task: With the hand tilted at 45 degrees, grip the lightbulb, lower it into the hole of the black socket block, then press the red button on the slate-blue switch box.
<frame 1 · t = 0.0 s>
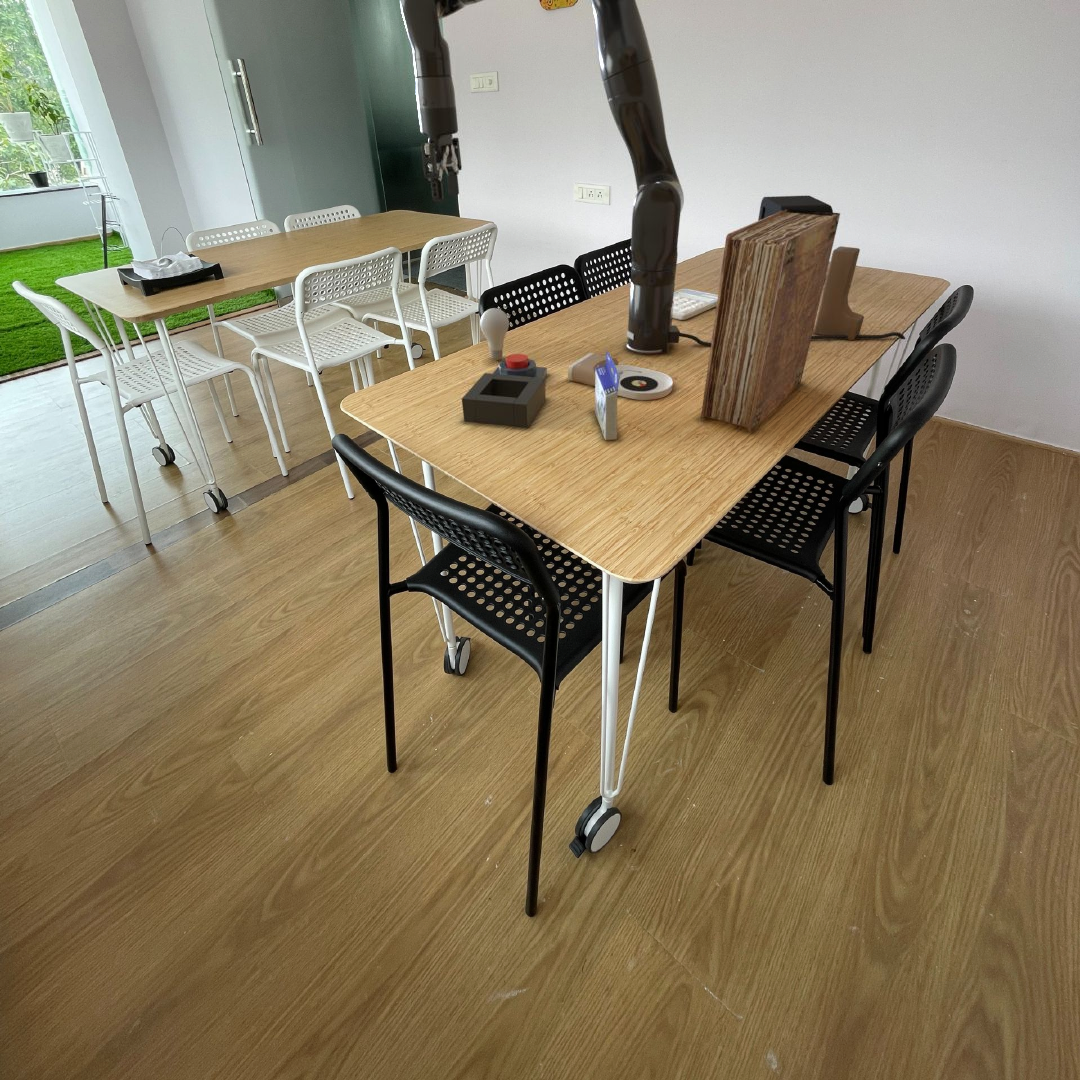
hand: (446, 198, 132), 29 cm above the table, tool pointing down, fingers open, 8 cm apart
book: (752, 402, 115), on the table
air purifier: (783, 277, 183), on the table
ink box: (604, 426, 109), on the table
calculator: (683, 307, 162), on the table
wooden block: (835, 335, 142), on the table
lightbulb: (497, 361, 135), on the table
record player: (622, 384, 123), on the table
switch: (518, 380, 126), on the table
button: (517, 361, 123), point 4 cm above the table, slide at 0.1 cm
socket: (506, 410, 115), on the table
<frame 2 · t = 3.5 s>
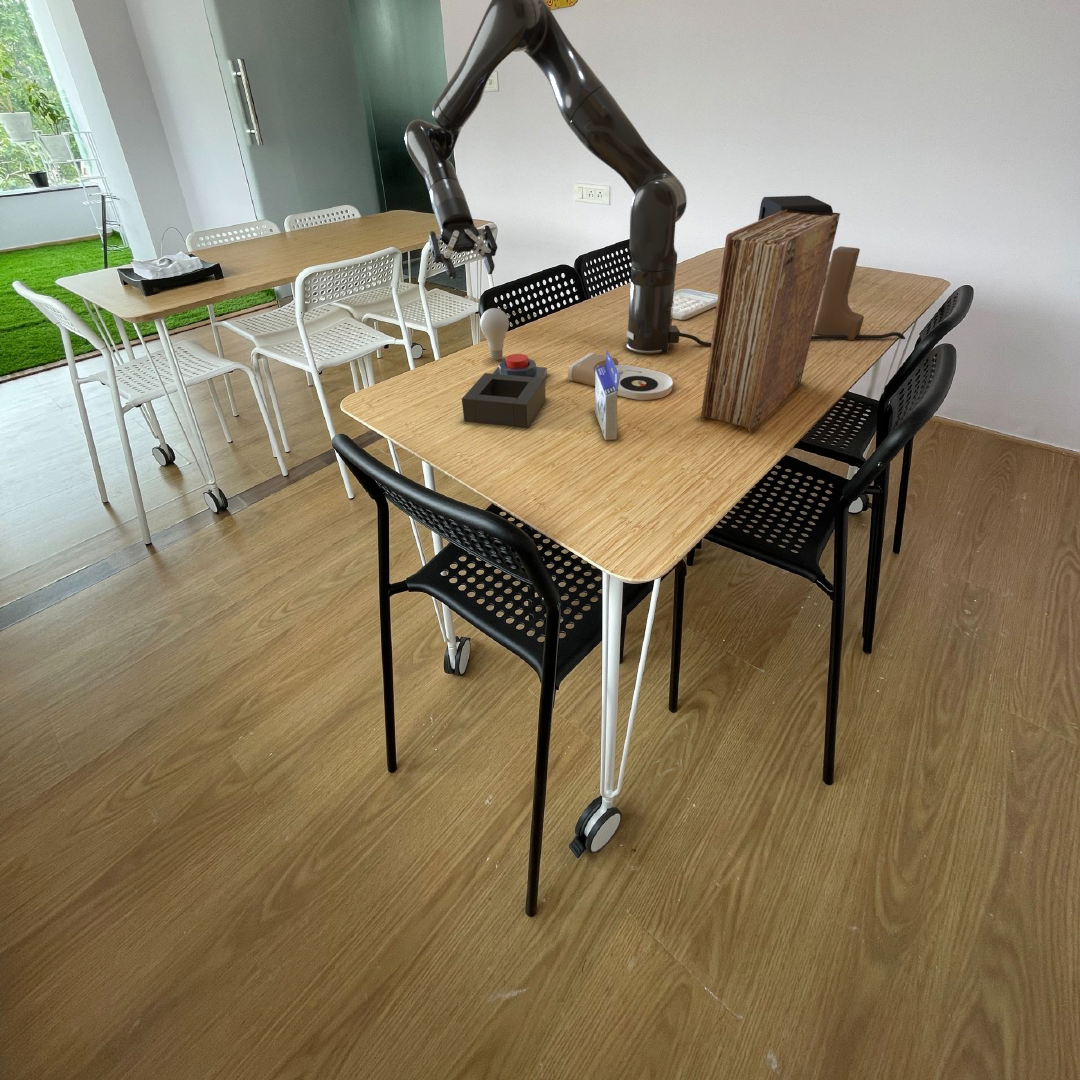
hand: (472, 274, 135), 15 cm above the table, tool tilted 45°, fingers open, 8 cm apart
nothing on the table moved.
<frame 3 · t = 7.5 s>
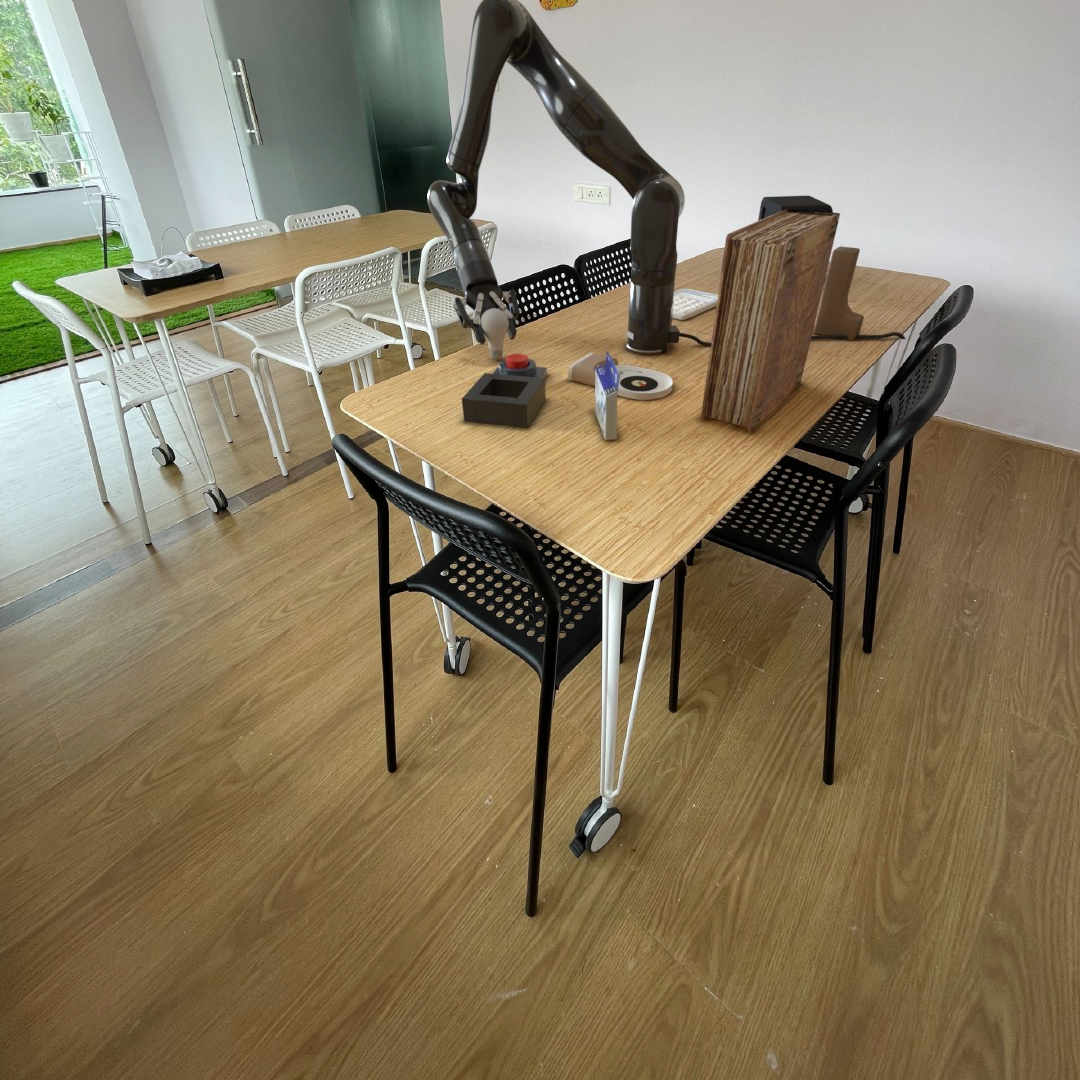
hand: (498, 340, 131), 5 cm above the table, tool tilted 45°, fingers closed on lightbulb, 6 cm apart
lightbulb: (497, 361, 135), on the table, touching gripper
everything else where it was.
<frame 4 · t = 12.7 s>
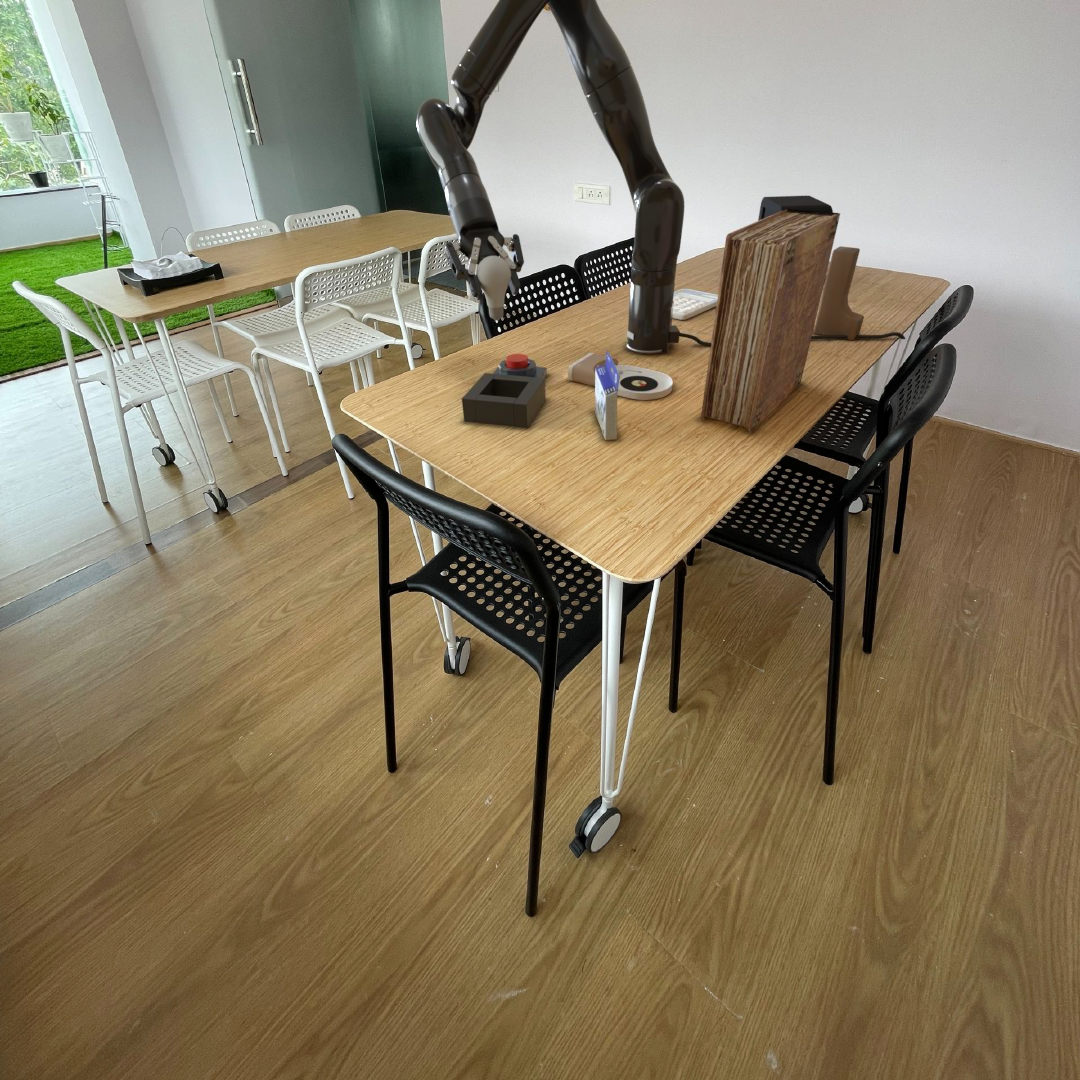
hand: (498, 294, 109), 19 cm above the table, tool tilted 45°, fingers closed on lightbulb, 6 cm apart
lightbulb: (496, 321, 114), point 14 cm above the table, touching gripper
everything else where it was.
when the fingers open (5 cm above the table, at t = 18.0 s): lightbulb stays where it is, resting in socket.
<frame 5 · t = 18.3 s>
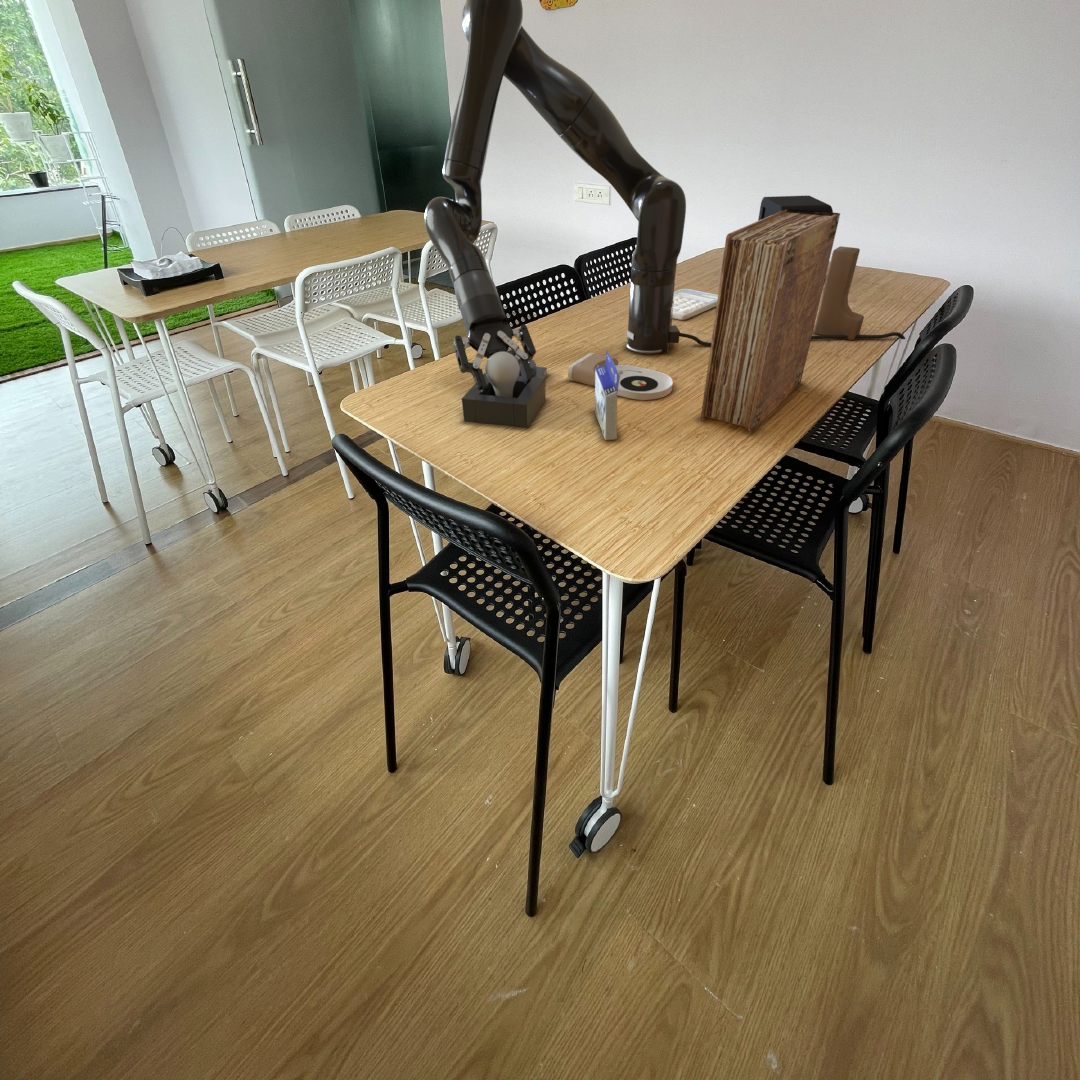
hand: (506, 386, 110), 5 cm above the table, tool tilted 45°, fingers open, 8 cm apart
lightbulb: (505, 411, 115), resting in socket
everything else where it was.
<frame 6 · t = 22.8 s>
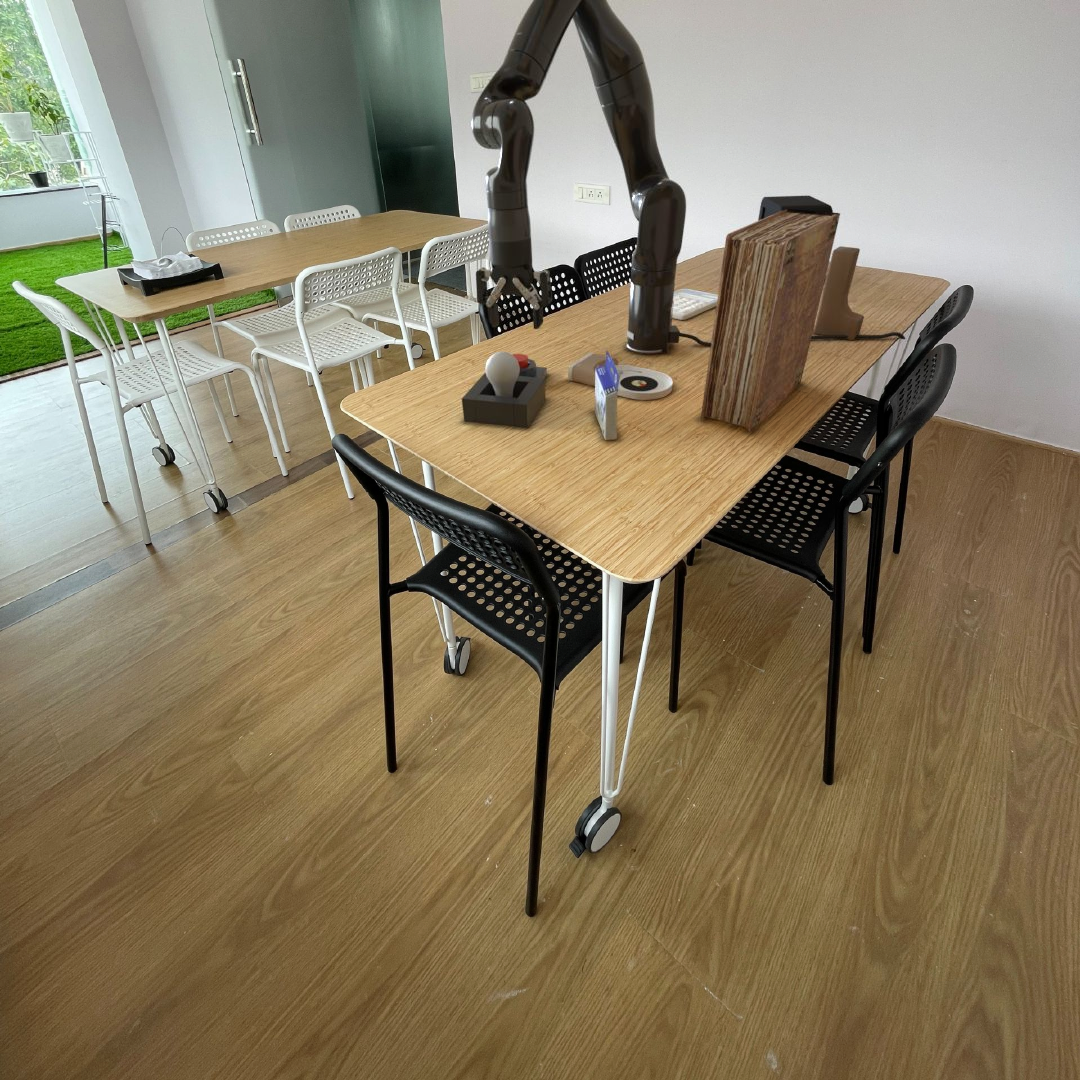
hand: (516, 326, 119), 11 cm above the table, tool pointing down, fingers open, 8 cm apart
nothing on the table moved.
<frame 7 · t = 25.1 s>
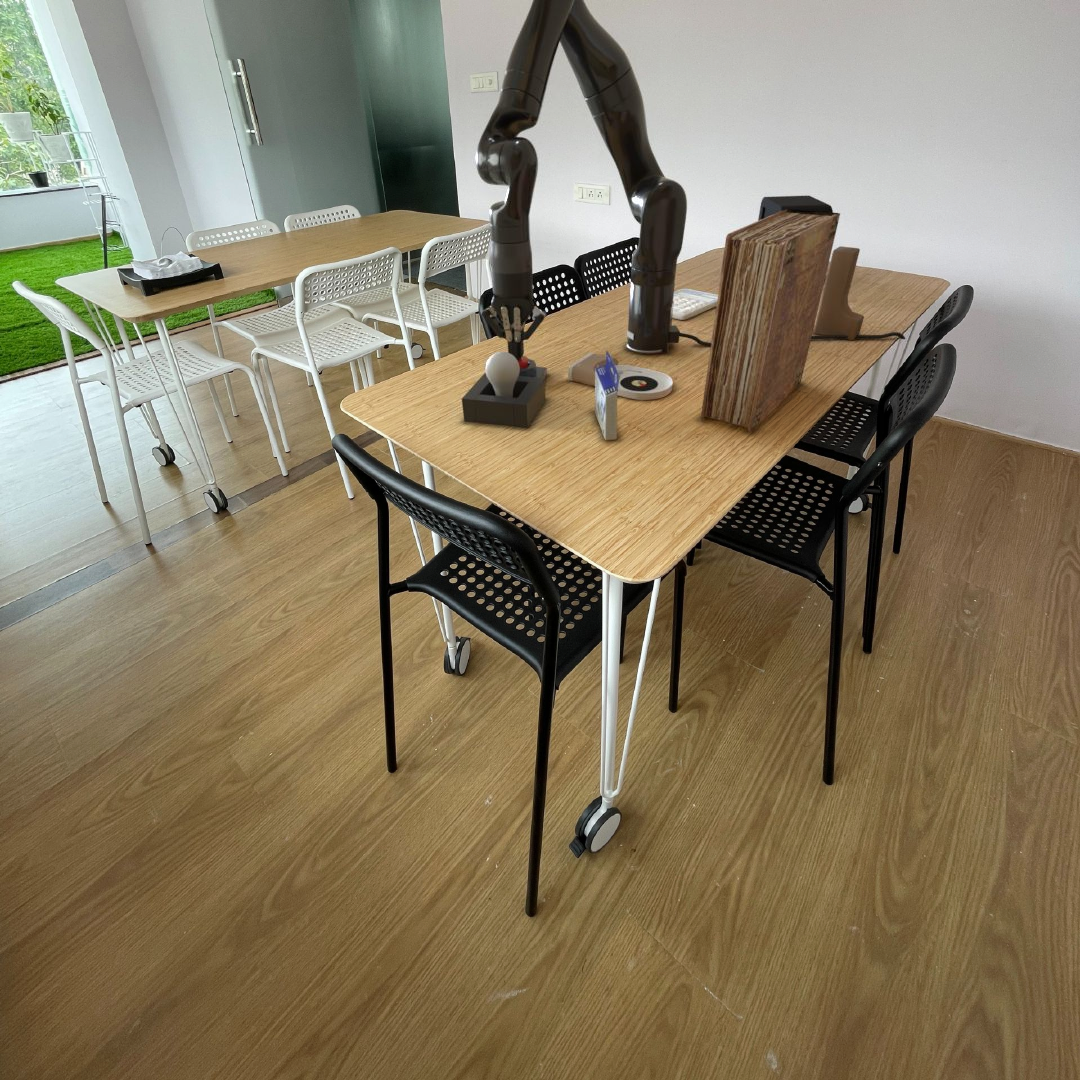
hand: (516, 358, 123), 5 cm above the table, tool pointing down, fingers closed
button: (517, 363, 124), point 4 cm above the table, slide at -0.2 cm, touching gripper
everything else where it was.
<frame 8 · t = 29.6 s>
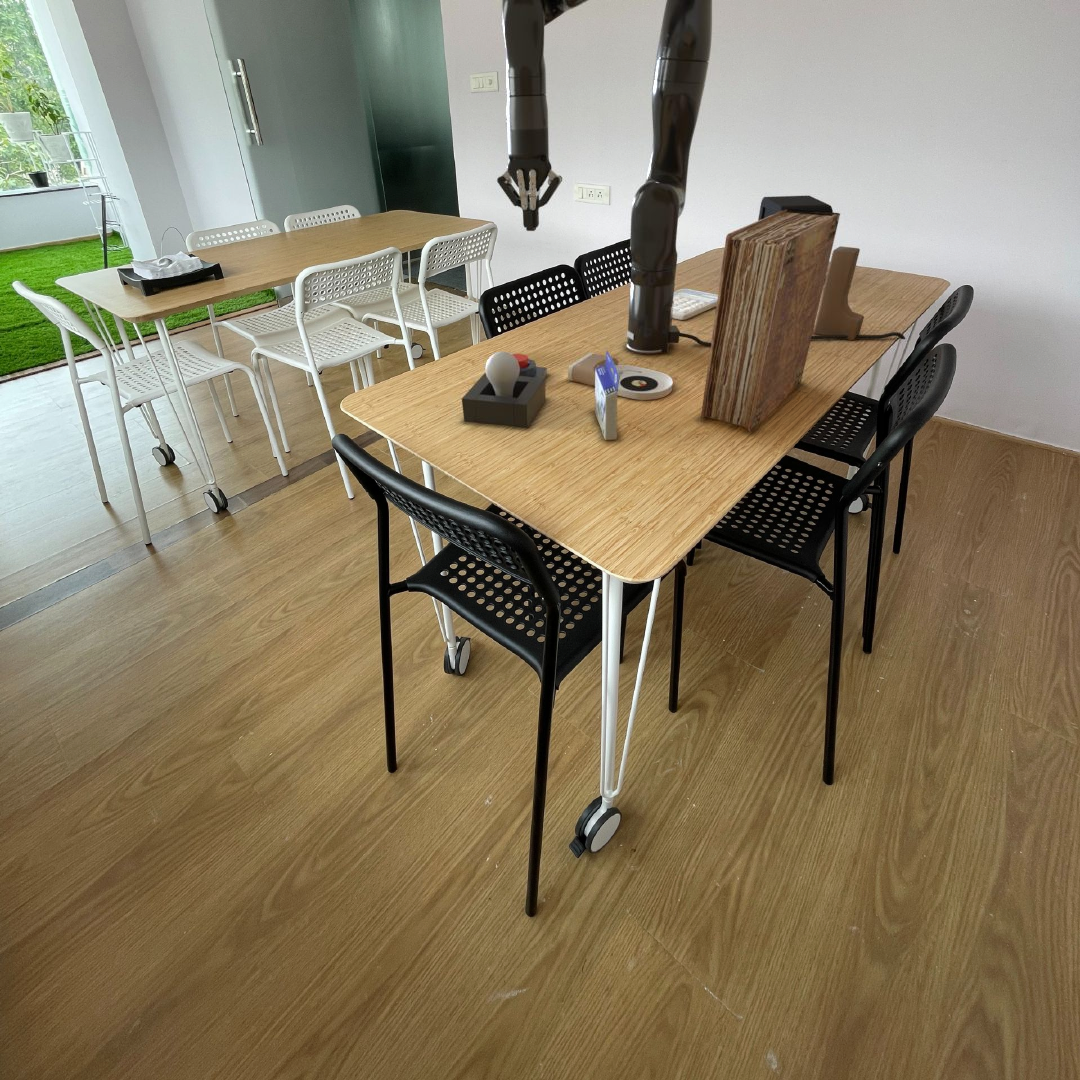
hand: (531, 230, 123), 25 cm above the table, tool pointing down, fingers closed
button: (517, 361, 123), point 4 cm above the table, slide at 0.1 cm
everything else where it was.
at the end: lightbulb 0.2 cm off-centre in the socket, point 0.0 cm above the socket's base; button pushed in 1.1 cm at the most during the clip, back to where it started at the end; button slide at 0.1 cm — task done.
